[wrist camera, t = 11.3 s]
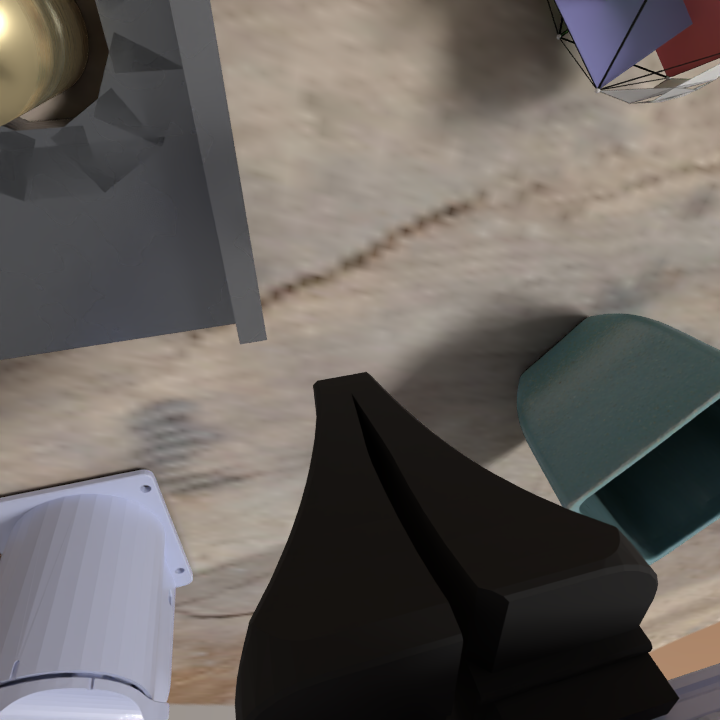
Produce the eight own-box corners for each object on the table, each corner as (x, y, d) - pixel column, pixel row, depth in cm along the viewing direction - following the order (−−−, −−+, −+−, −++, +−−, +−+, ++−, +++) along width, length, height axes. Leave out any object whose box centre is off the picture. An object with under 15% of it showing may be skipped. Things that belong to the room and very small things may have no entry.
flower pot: (469, 383, 27) (563, 515, 20) (600, 264, 25) (759, 365, 18) (548, 446, 32) (646, 571, 25) (664, 351, 30) (809, 458, 23)
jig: (259, 300, 22) (266, 339, 19) (-27, 343, 20) (-61, 393, 17) (176, -190, 13) (169, -239, 11) (-336, -204, 11) (-497, -268, 9)
